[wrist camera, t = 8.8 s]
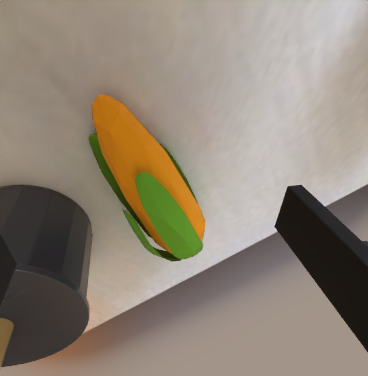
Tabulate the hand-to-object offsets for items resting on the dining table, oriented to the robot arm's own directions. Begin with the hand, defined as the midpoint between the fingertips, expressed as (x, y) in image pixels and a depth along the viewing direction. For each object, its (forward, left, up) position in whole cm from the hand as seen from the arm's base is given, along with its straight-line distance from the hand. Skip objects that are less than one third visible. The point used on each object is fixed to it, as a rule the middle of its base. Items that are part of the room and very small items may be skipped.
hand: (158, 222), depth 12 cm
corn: (+6, +1, -15) cm, 16 cm away
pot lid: (+12, -13, -5) cm, 18 cm away
